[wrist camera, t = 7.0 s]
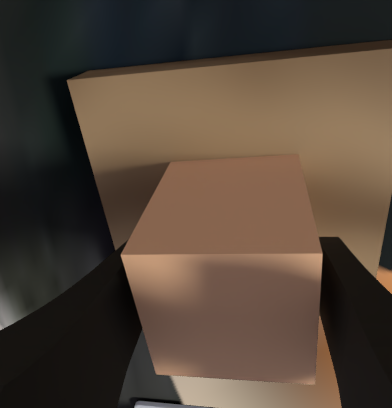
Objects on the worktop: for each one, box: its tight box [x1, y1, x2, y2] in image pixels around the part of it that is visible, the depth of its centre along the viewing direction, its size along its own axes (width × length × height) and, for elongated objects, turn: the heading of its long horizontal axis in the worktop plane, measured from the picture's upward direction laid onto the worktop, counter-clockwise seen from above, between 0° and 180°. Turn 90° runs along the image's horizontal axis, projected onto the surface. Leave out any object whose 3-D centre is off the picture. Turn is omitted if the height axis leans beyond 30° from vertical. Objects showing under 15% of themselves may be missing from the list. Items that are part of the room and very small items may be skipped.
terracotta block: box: [121, 154, 323, 385], centre depth 12 cm, size 5×5×6 cm
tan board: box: [67, 40, 392, 316], centre depth 16 cm, size 12×12×2 cm
